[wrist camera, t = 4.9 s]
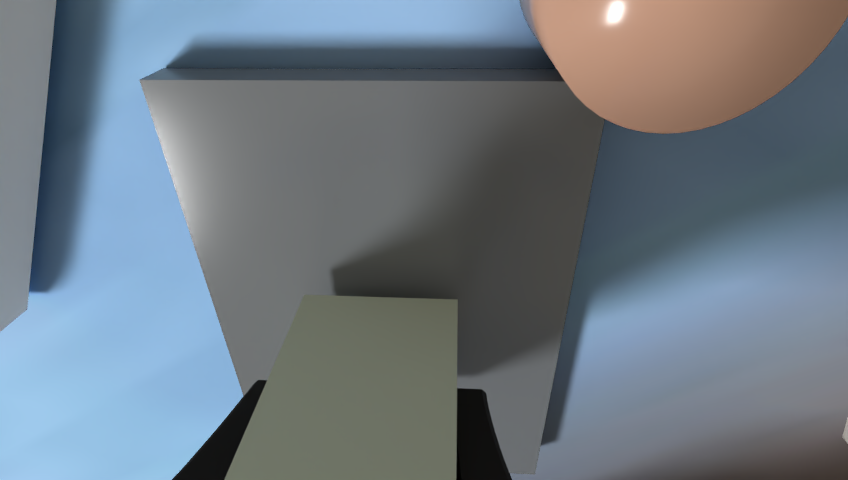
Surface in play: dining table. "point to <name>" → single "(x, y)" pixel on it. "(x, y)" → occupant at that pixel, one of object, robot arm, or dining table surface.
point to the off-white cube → (846, 432)
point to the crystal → (21, 140)
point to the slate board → (389, 208)
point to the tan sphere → (680, 54)
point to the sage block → (358, 394)
